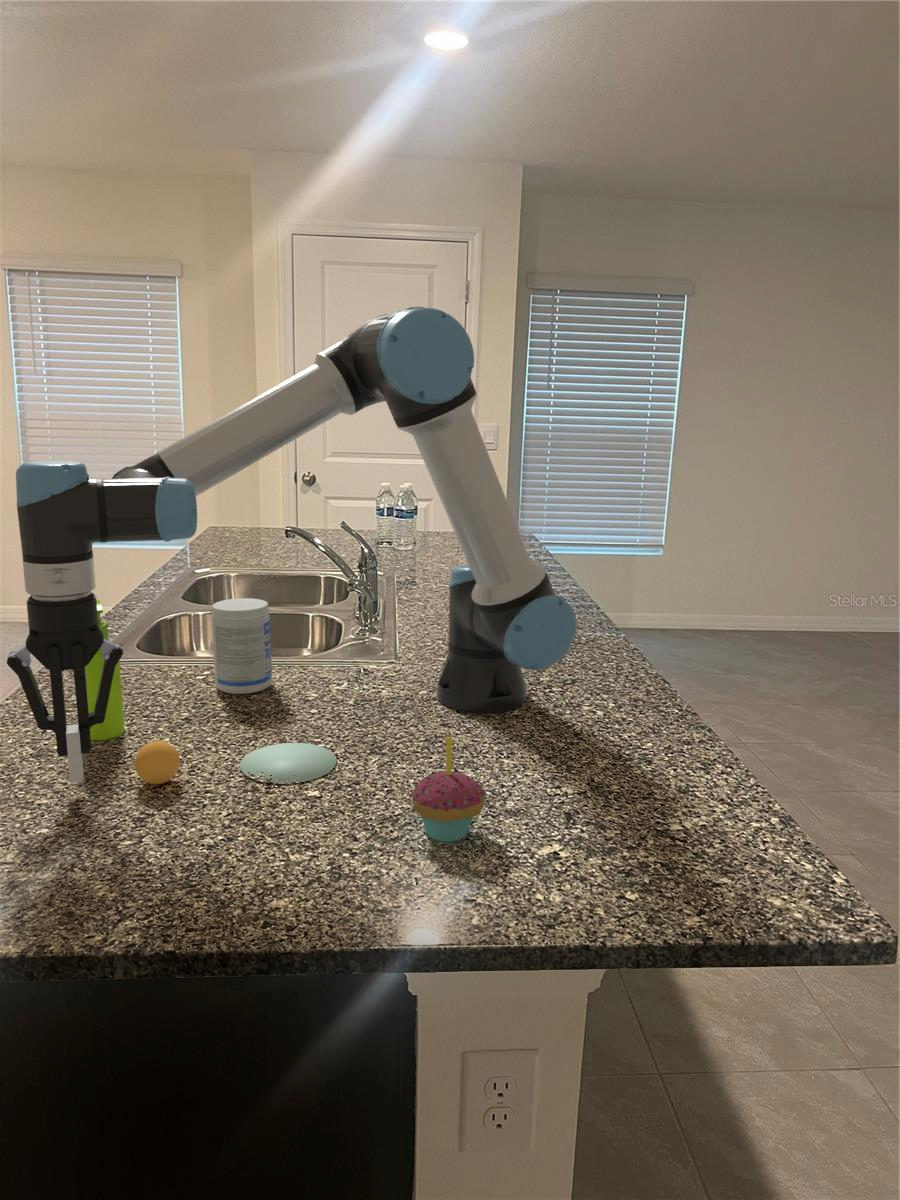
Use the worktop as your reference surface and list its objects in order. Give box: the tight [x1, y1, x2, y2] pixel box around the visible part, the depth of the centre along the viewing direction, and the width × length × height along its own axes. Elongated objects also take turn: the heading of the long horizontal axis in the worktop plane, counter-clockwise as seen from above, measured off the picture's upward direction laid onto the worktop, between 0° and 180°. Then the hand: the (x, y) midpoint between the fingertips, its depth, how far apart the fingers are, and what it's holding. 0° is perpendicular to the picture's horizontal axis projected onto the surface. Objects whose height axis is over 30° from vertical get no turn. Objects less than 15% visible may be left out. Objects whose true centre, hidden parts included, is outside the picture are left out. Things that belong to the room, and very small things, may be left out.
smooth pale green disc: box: [239, 742, 337, 783], centre depth 115 cm, size 13×13×1 cm
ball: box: [134, 740, 181, 785], centre depth 108 cm, size 6×6×6 cm
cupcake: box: [411, 729, 486, 843], centre depth 96 cm, size 9×8×12 cm
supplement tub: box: [211, 597, 273, 695], centre depth 142 cm, size 10×10×15 cm
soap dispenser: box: [85, 599, 125, 741], centre depth 120 cm, size 6×7×20 cm
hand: (76, 777), depth 104 cm, fingers closed
